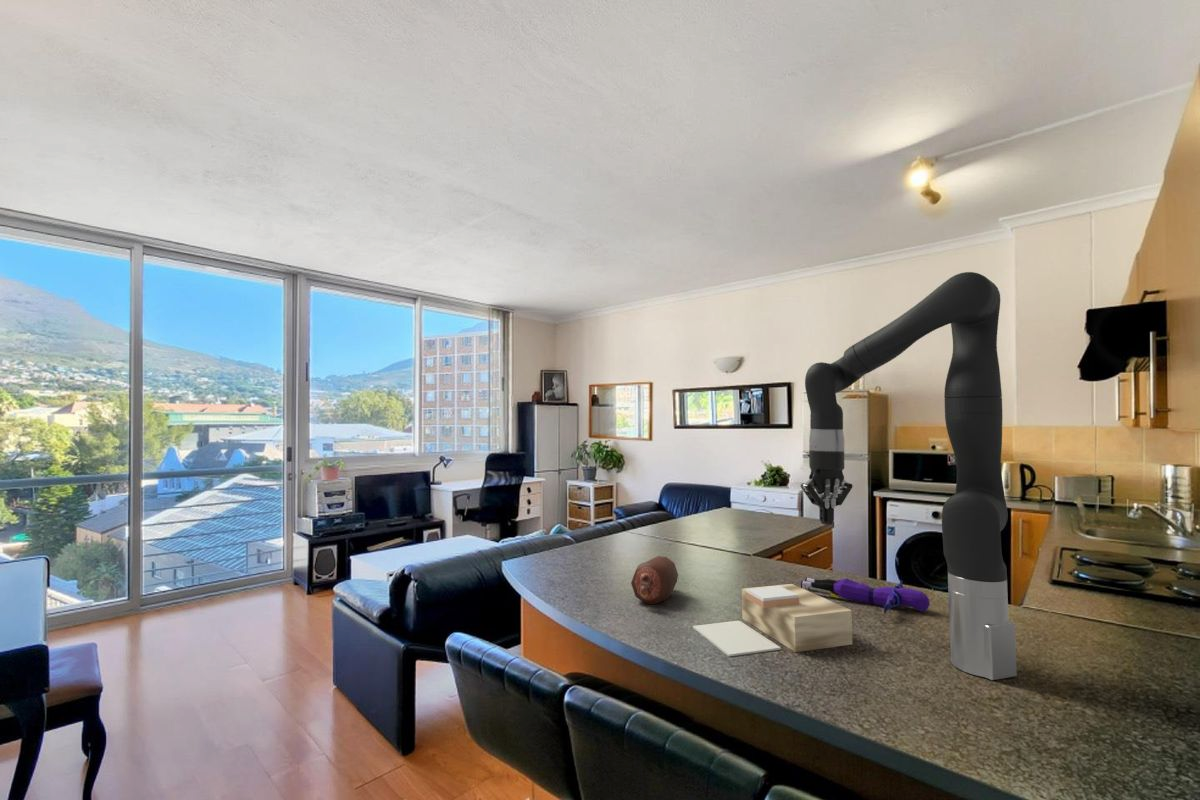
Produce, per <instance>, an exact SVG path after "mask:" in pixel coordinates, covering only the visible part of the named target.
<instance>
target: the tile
mask: <svg viewBox="0 0 1200 800" xmlns="http://www.w3.org/2000/svg"><path fill="white" fill-rule="evenodd" d="M773 586H774V587H765V586H763V587H764V588H754V587H753V588H754V589H746V592H745V594H746V599H748V600H750V601H752V602H753V603H755V604H757V605H759V606H760V607H762V608H769V607H778V606H787V605H797V604H799V596H798V594H796V593H794V592H791V591H789V590H787V589H785V588H783V587H781V586H775V585H773Z"/></svg>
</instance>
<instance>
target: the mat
mask: <svg viewBox="0 0 1200 800" xmlns="http://www.w3.org/2000/svg"><path fill="white" fill-rule="evenodd" d="M692 628H693V630H694V631H696V632H697V633H698V634H700V635H701V636H702V637H703V638H705V639H706V640H707V641H709V642H710V643H711V644H712V645H713V646H715V648H718V649H719V650H720V651H721V652H722V653H724V654H725V655H726V656H727V657H734V656H743V655H751V654H757V653H765V652H766V653H767V652H771V651H772V652H773V651H778V650H779V651H781V648H782V647H781V646H779V645H778V644H776V643H775V642H773V641H771V640H770V639H768V638H767V637H765V636H764V635H762V633H760V632H758V631H757V630H755V629H753V628H752V627H750V626H749V625H747V624H745V623H744V622H742V621H741V620H733V621H731V620H730V621H725V622H715V623H708V624H698V625H693V626H692Z"/></svg>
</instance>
